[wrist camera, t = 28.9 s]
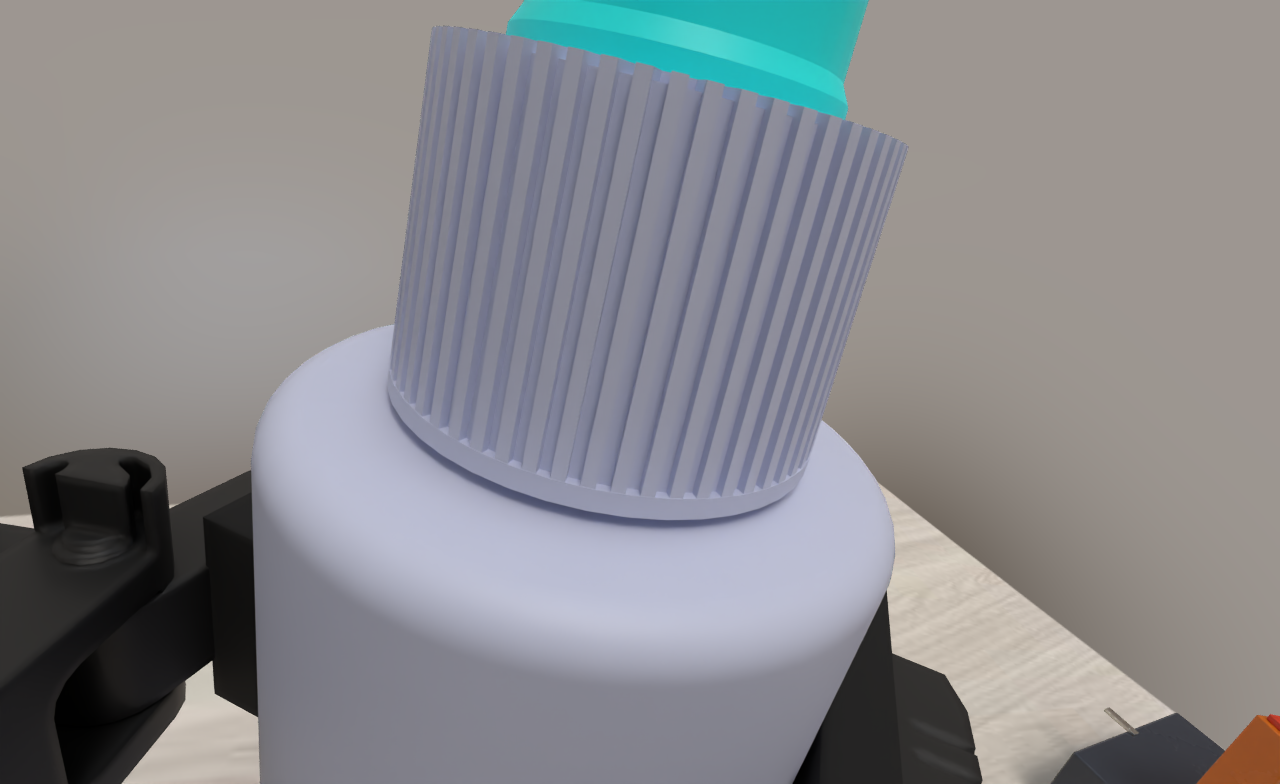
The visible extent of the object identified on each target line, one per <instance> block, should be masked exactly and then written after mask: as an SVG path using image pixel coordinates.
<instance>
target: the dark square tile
mask: <svg viewBox="0 0 1280 784" xmlns="http://www.w3.org/2000/svg"><path fill="white" fill-rule="evenodd" d="M1104 712H1106V713H1107V714H1108V715H1109V716H1110V717H1111V718H1112V719H1114V720H1115V721H1116V722H1117V723H1118V724H1119V725H1120V726H1122V727H1123V728H1124V729H1125V730H1126V731H1127V732H1125V733H1123V734H1120V735H1118V736H1115V737H1112V738H1110V739H1107V740H1105V741H1102V742H1100V743H1097V744H1094V745H1092V746H1089V747H1087V748H1084V749H1082V750H1079V751H1076V752H1074V753H1073V754H1072V755H1071V757H1070V758H1069V759H1068V761H1067V762H1066V764H1065V765H1064V766H1063V768H1062V769H1061V770H1060V772H1059V773H1058V774H1057V776H1056V777H1055V778H1054V780H1053V781H1052V782H1051V784H1196V783H1197V782H1198V781H1199V780H1200V779H1201V778H1202V777H1203V775H1204V774H1205V773H1206V772H1207V771H1208V770H1209V769H1210V768H1211V766H1212V765H1213V764H1214V763H1215V762H1216V761H1217V760H1218V759H1219V757H1220V756H1221V755H1222V754H1223V753H1224V752H1225V750H1223V749H1222V748H1221V747H1220V746H1218V745H1217V744H1216V743H1215V742H1213V741H1212V740H1211V739H1210V738H1208V737H1207V736H1206V735H1204V734H1203V733H1202V732H1201V731H1199V730H1198V729H1197V728H1196V727H1194V726H1193V725H1192V724H1191V723H1189V722H1188V721H1187V720H1186V719H1184V718H1183V717H1182V716H1180V715H1179V714H1178V713H1174V714H1172V715H1169V716H1166V717H1164V718H1161V719H1159V720H1156V721H1154V722H1151V723H1148V724H1146V725H1143V726H1141V727H1138V728H1136V729H1134V728H1133V727H1132V726H1130V725H1129V724H1128V723H1127V722H1126V721H1125V720H1123V719H1122V718H1121V717H1120V716H1119V715H1118V714H1116V713H1115V712H1114V711H1113V710H1112V709H1111V708H1106V709H1105V710H1104Z"/></svg>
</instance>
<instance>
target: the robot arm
mask: <svg viewBox="0 0 1280 784" xmlns="http://www.w3.org/2000/svg"><path fill="white" fill-rule="evenodd" d="M23 474H24V479H25V484H26V489H27V494H28V499H29V504H30V509H31V514H32V519H33V524H34V529H33V528H27V527H21V526H14V525H8V524H1V523H0V784H121V783H122V782H123V781H124V780H125V778H126V777H127V776H128V775H129V774H130V772H131V771H132V770H133V769H134V767H135V766H136V765H137V764H138V763H139V761H140V760H141V759H142V758H143V756H144V755H145V754H146V753H147V752H148V750H149V749H150V748H151V747H152V745H153V744H154V743H155V742H156V740H157V739H158V738H159V737H160V736H161V734H162V733H163V732H164V731H165V729H166V728H167V727H168V726H169V725H170V723H171V722H172V721H173V720H174V718H175V717H176V715H177V714H178V712H179V710H180V708H181V707H182V705H183V703H184V701H185V690H186V683H185V680H187V679H188V678H189V677H191V676H192V675H193V674H195V673H196V672H197V671H199V670H200V669H201V668H203V667H204V666H205V665H207V664H208V663H209V662H211V661H213V676H214V690H215V694H216V695H218V696H220V697H222V698H224V699H225V700H227V701H229V702H231V703H233V704H235V705H237V706H238V707H240V708H242V709H244V710H246V711H248V712H249V713H251V714H253V715H255V716H257V717H258V689H257V655H256V620H255V585H254V550H253V515H252V481H251V471H248V472H246V473H243V474H241V475H239V476H237V477H235V478H233V479H231V480H229V481H227V482H225V483H222V484H221V485H218V486H216V487H214V488H212V489H210V490H208V491H206V492H204V493H202V494H199V495H197V496H195V497H194V498H191V499H189V500H187V501H185V502H183V503H181V504H179V505H176V506H174V507H172V508H170V509H169V500H168V490H167V479H166V468H165V466H164V465H163V464H162V463H161V462H160V461H159V460H158V459H157V458H156V457H154V456H152V455H149V454H146V453H143V452H140V451H137V450H127V449H117V448H102V449H88V450H78V451H73V452H69V453H64V454H60V455H55V456H51V457H47V458H45V459H42V460H40V461H37V462H35V463H32V464H30V465H28V466H25V467H23ZM975 749H976V748H975V744H974V739H973V735H972V730H971V726H970V721H969V716H968V712H967V710H966V709H965V707H964V705H963V704H962V702H961V700H960V699H959V697H958V696H957V694H956V692H955V691H954V689H953V687H952V686H951V684H950V683H949V681H948V679H947V678H946V676H945V675H944V674H942V673H939V672H937V671H934V670H932V669H929V668H927V667H924V666H922V665H919V664H917V663H914V662H912V661H910V660H907V659H905V658H902V657H900V656H897V655H895V654H892V648H891V637H890V625H889V613H888V601H887V590H886V592H885V595H884V597H883V599H882V601H881V603H880V605H879V607H878V609H877V611H876V614H875V616H874V618H873V620H872V622H871V624H870V626H869V628H868V630H867V632H866V634H865V636H864V638H863V640H862V642H861V644H860V646H859V648H858V650H857V652H856V654H855V657H854V659H853V661H852V663H851V665H850V667H849V669H848V671H847V673H846V675H845V677H844V679H843V681H842V683H841V685H840V687H839V689H838V691H837V693H836V695H835V697H834V700H833V702H832V704H831V706H830V708H829V710H828V712H827V714H826V716H825V718H824V720H823V722H822V724H821V726H820V728H819V730H818V732H817V734H816V736H815V738H814V740H813V743H812V745H811V747H810V749H809V751H808V753H807V755H806V757H805V759H804V761H803V763H802V765H801V767H800V769H799V771H798V773H797V775H796V777H795V779H794V781H793V783H792V784H981V783H982V776H981V771H980V767H979V762H978V758H977V756H976V755H974V752H975Z"/></svg>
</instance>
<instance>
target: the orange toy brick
mask: <svg viewBox="0 0 1280 784" xmlns="http://www.w3.org/2000/svg"><path fill="white" fill-rule="evenodd" d="M1196 784H1280V716H1276V715H1271V714H1270V715H1269V716H1268V717H1267V716H1261V715H1257V716H1256V717H1255V718H1254V719H1253V720H1252V721H1251V722H1250V724H1249V725H1248V726H1247V727H1246V728H1245V729H1244V731H1243V732H1242V733H1241V734H1240V735H1239V736H1238V737H1237V739H1235V741H1234V742H1233V743H1232V744H1231V745H1230V746H1229V747H1228V748H1227V750H1226V751H1225V752H1224V753H1223V754H1222V755H1221V756H1220V757H1219V759H1218V760H1217V761H1216V762H1215V763H1214V764H1213V765H1212V766H1211V768H1210V769H1209V770H1208V771H1207V772H1206V773H1205V774H1204V775H1203V777H1202V778H1201V779H1200V780H1199V781H1198V782H1197V783H1196Z"/></svg>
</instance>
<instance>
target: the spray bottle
mask: <svg viewBox="0 0 1280 784" xmlns="http://www.w3.org/2000/svg"><path fill="white" fill-rule="evenodd" d="M868 1H869V0H524V2H523V3H522V5H521V6H520V7H519V9H518V10H517V11H516V12H515V14H514V15H513V16H512V18H511V19H510V20H509V21H508V25H507V31H506V35H505V34H501V33H497V32H491V31H488V32H486V31H482V30H478V29H472V28H469V29H466V28H462V27H455V26H454V27H450V26H443V27H442V26H436V27H433V28H432V33H431V41H430V49H429V57H428V64H427V72H426V80H425V88H424V96H423V104H422V112H421V119H420V127H419V135H418V143H417V151H416V159H415V167H414V174H413V183H412V191H411V198H410V207H409V214H408V222H407V230H406V238H405V246H404V254H403V261H402V269H401V277H400V285H399V293H398V300H397V308H396V316H395V324H392V325H387V326H383V327H379V328H375V329H372V330H369V331H366V332H363V333H360V334H357V335H354V336H352V337H349V338H347V339H345V340H343V341H340V342H338V343H336V344H334V345H332V346H330V347H328V348H326V349H324V350H323V351H321V352H319V353H318V354H316V355H314V356H313V357H311V358H310V359H308V360H306V361H305V362H304V363H303V364H302V365H300V366H299V367H298V368H297V369H296V370H295V371H294V372H292V373H291V374H290V375H289V376H288V377H287V378H286V379H285V380H284V381H283V382H282V383H281V385H280V386H279V387H278V389H277V390H276V391H275V392H274V394H273V395H272V396H271V398H270V399H269V401H268V403H267V405H266V407H265V409H264V411H263V413H262V416H261V418H260V420H259V422H258V424H257V427H256V432H255V438H254V444H253V451H252V458H251V481H252V515H253V550H254V585H255V620H256V655H257V689H258V724H259V759H260V784H792V783H793V781H794V779H795V777H796V775H797V773H798V771H799V769H800V767H801V765H802V763H803V761H804V759H805V757H806V755H807V753H808V751H809V749H810V747H811V745H812V743H813V740H814V738H815V736H816V734H817V732H818V730H819V728H820V726H821V724H822V722H823V720H824V718H825V716H826V714H827V712H828V710H829V708H830V706H831V704H832V702H833V700H834V697H835V695H836V693H837V691H838V689H839V687H840V685H841V683H842V681H843V679H844V677H845V675H846V673H847V671H848V669H849V667H850V665H851V663H852V661H853V659H854V657H855V654H856V652H857V650H858V648H859V646H860V644H861V642H862V640H863V638H864V636H865V634H866V632H867V630H868V628H869V626H870V624H871V622H872V620H873V618H874V616H875V614H876V611H877V609H878V607H879V605H880V603H881V601H882V599H883V597H884V595H885V592H886V590H887V588H888V586H889V583H890V579H891V576H892V570H893V564H894V559H895V539H894V525H893V522H892V519H891V515H890V512H889V508H888V505H887V502H886V499H885V497H884V495H883V493H882V491H881V489H880V487H879V485H878V483H877V481H876V480H875V478H874V476H873V475H872V474H871V472H870V471H869V469H868V468H867V466H866V465H865V464H864V462H863V461H862V459H861V458H860V457H859V455H858V454H857V453H856V452H855V451H854V450H853V449H852V448H851V447H850V445H849V444H848V443H847V442H846V441H845V440H844V439H843V438H842V437H841V436H840V435H839V434H837V433H836V432H835V431H834V430H833V429H832V428H831V427H830V426H829V425H827V424H826V423H825V422H824V421H822V417H823V413H824V410H825V407H826V404H827V401H828V398H829V395H830V392H831V389H832V385H833V382H834V379H835V376H836V373H837V370H838V367H839V364H840V360H841V357H842V354H843V351H844V348H845V345H846V342H847V338H848V336H849V332H850V329H851V326H852V323H853V320H854V317H855V314H856V311H857V307H858V304H859V301H860V298H861V295H862V292H863V289H864V286H865V283H866V279H867V276H868V273H869V270H870V267H871V264H872V260H873V258H874V254H875V251H876V248H877V245H878V242H879V239H880V236H881V233H882V229H883V226H884V223H885V220H886V217H887V214H888V210H889V208H890V205H891V201H892V198H893V195H894V192H895V189H896V186H897V183H898V179H899V177H900V173H901V170H902V167H903V164H904V161H905V158H906V155H907V152H908V148H909V147H908V146H907V144H905V143H903V142H901V141H900V140H898V139H895V138H892V137H891V136H889V135H887V134H883V133H880V132H879V131H876V130H874V129H871V128H866V127H863V125H860V124H857V123H854V122H850V121H846V120H845V118H846V114H847V111H848V106H847V100H846V95H845V91H844V86H843V84H844V81H845V77H846V74H847V71H848V67H849V64H850V61H851V57H852V54H853V51H854V47H855V44H856V41H857V37H858V34H859V31H860V27H861V24H862V20H863V17H864V14H865V11H866V7H867V4H868Z"/></svg>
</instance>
